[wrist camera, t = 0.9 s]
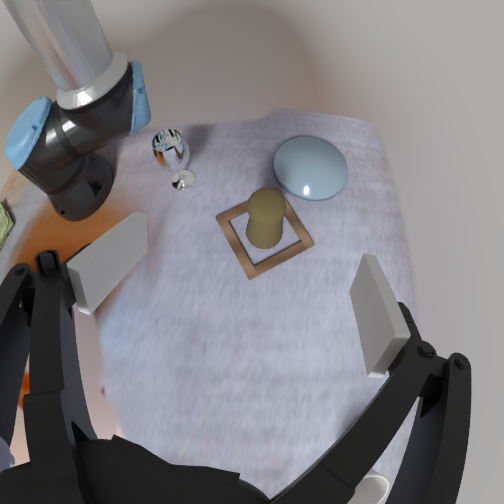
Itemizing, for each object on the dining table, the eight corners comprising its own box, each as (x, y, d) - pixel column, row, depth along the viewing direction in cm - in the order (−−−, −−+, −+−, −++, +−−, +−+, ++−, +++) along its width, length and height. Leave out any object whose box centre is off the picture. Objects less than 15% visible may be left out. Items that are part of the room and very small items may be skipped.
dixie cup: (316, 463, 34) (330, 491, 24) (361, 442, 34) (385, 464, 25) (328, 493, 31) (343, 522, 22) (370, 473, 32) (393, 497, 23)
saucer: (259, 154, 50) (260, 151, 48) (318, 132, 51) (319, 128, 50) (299, 213, 46) (301, 210, 45) (359, 183, 48) (361, 180, 47)
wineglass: (167, 195, 47) (146, 157, 36) (169, 169, 49) (150, 129, 37) (198, 191, 47) (184, 151, 36) (198, 165, 49) (186, 123, 37)
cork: (269, 208, 46) (273, 173, 36) (289, 236, 45) (300, 207, 34) (239, 226, 45) (234, 194, 35) (259, 255, 44) (260, 231, 33)
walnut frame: (215, 218, 46) (215, 217, 45) (277, 188, 47) (277, 187, 47) (249, 280, 43) (249, 279, 42) (313, 245, 44) (314, 244, 44)
